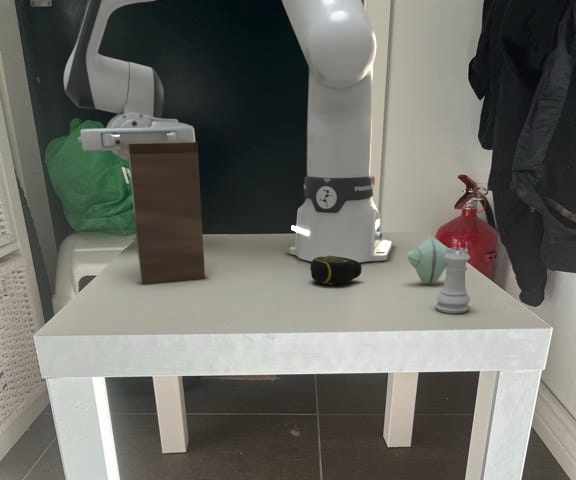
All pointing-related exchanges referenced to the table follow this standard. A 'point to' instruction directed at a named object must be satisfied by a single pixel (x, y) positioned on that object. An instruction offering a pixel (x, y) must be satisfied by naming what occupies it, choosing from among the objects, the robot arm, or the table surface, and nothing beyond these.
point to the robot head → (428, 260)
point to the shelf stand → (166, 209)
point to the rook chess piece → (454, 283)
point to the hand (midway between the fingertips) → (144, 139)
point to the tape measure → (334, 269)
